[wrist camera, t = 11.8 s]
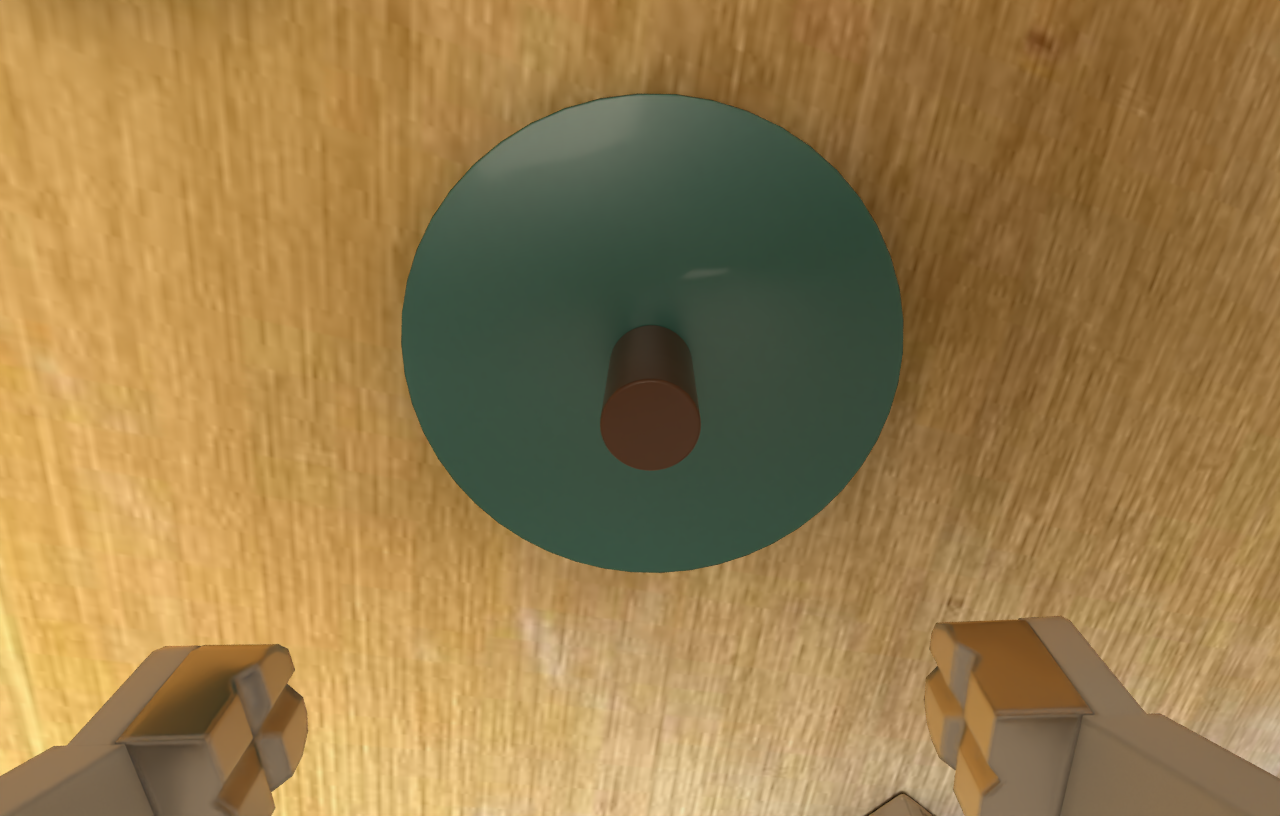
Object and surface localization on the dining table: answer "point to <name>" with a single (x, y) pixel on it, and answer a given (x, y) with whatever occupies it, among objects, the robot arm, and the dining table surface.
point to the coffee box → (901, 808)
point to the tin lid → (652, 333)
